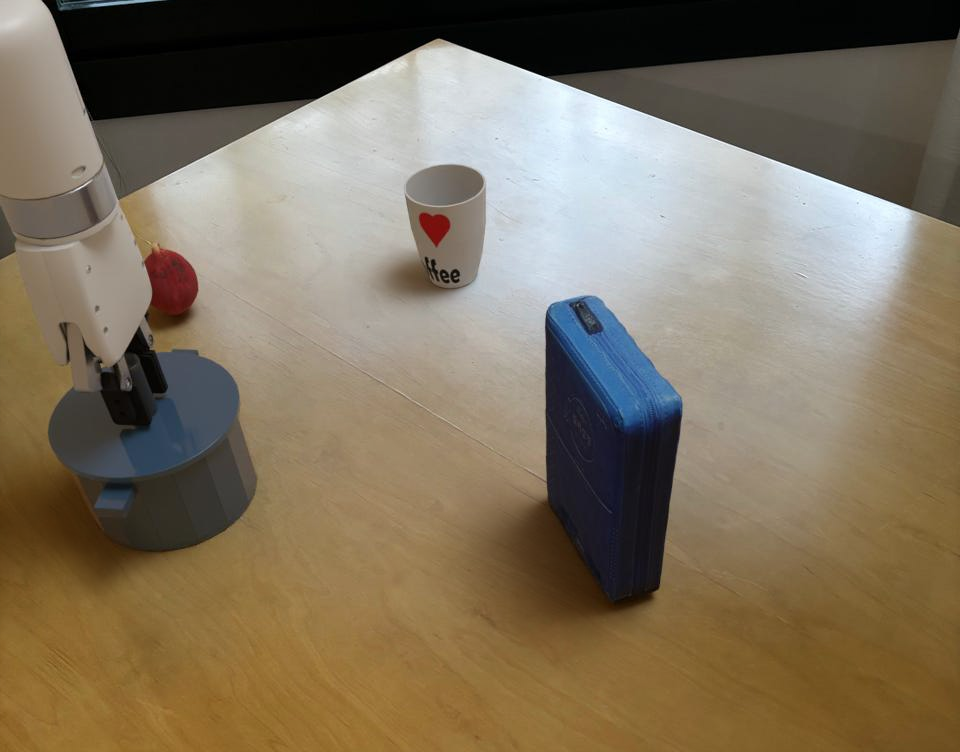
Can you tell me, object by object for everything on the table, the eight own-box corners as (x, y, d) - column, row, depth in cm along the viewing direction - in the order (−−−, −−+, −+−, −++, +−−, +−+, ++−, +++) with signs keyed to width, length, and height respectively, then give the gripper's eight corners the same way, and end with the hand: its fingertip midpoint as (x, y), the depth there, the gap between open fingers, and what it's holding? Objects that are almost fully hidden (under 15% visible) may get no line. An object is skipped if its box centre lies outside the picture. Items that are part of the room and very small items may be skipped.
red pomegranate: (218, 307, 113) (197, 238, 106) (179, 336, 110) (156, 267, 104) (178, 291, 115) (155, 222, 109) (140, 320, 112) (114, 251, 106)
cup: (400, 275, 114) (387, 186, 106) (457, 243, 117) (449, 154, 109) (449, 306, 110) (439, 216, 102) (507, 272, 113) (502, 182, 105)
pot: (57, 570, 91) (16, 497, 84) (135, 414, 103) (105, 340, 96) (222, 579, 89) (194, 506, 82) (282, 419, 101) (261, 344, 94)
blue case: (536, 499, 92) (528, 297, 76) (593, 481, 93) (597, 277, 77) (608, 618, 83) (617, 418, 68) (670, 596, 84) (692, 394, 69)
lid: (23, 484, 86) (-10, 424, 81) (92, 360, 95) (67, 299, 90) (211, 493, 84) (189, 432, 79) (263, 365, 93) (246, 304, 88)
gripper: (52, 136, 79) (132, 343, 94) (-44, 264, 69) (62, 474, 84) (148, 136, 78) (214, 346, 93) (65, 266, 68) (153, 478, 83)
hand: (141, 405), depth 88 cm, fingers open, 3 cm apart
